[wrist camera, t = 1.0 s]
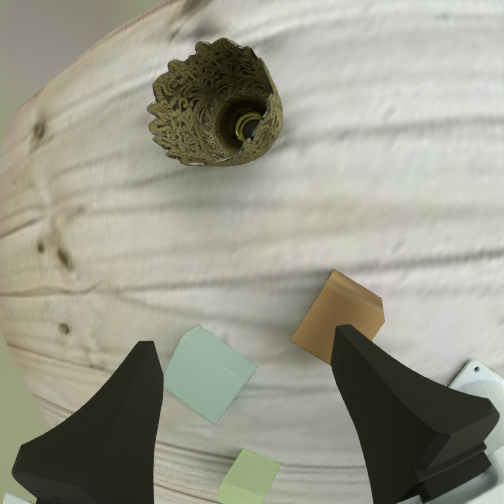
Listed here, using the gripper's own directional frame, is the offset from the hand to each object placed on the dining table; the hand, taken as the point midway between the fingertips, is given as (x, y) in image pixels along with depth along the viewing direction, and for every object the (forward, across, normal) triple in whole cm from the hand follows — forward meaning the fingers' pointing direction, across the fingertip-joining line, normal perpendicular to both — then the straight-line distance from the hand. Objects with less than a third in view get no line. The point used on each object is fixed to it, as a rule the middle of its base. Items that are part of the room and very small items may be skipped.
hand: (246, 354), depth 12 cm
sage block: (+6, 0, +22) cm, 23 cm away
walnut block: (+8, -7, +4) cm, 12 cm away
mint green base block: (+11, +2, +11) cm, 16 cm away
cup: (+15, -2, -8) cm, 17 cm away
